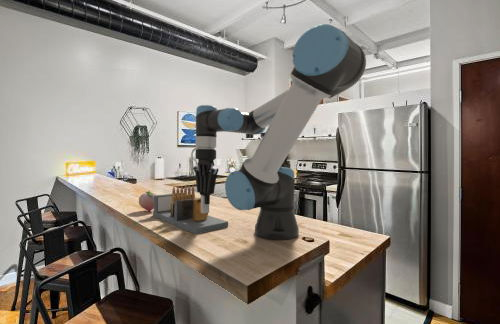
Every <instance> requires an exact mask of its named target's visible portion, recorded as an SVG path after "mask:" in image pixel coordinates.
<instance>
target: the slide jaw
mask: <svg viewBox="0 0 500 324" xmlns="http://www.w3.org/2000/svg"><path fill="white" fill-rule="evenodd" d="M207 215H208V216H209V213H201V197H195V198H194V199H185V200H177V201H174V219H175V220H180V219H186V218H192V217H193V220H194V221H200V220H205V219H207Z"/></svg>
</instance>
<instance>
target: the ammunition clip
mask: <svg viewBox="0 0 500 324" xmlns="http://www.w3.org/2000/svg"><path fill="white" fill-rule="evenodd" d="M183 187H184V189H183ZM175 193H176V195H175ZM179 193H180V195H179ZM183 193H184V195H183ZM171 194H172V203H171V216H172V217H174V201H177V200H185V199H194V198H196V194H195V185H193V184H192V187H191V185H188V188H187V186H186V185H185V186H182V185H180V188H179V186H177V187H176V188H175V186H173V187H172V191H171Z"/></svg>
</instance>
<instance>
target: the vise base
mask: <svg viewBox="0 0 500 324" xmlns="http://www.w3.org/2000/svg"><path fill="white" fill-rule="evenodd" d="M175 195H176V192H175ZM179 195H180V192H179ZM183 195H184V192H183ZM171 203H172V193H167V194H166V193H165V194H156V195H154V209H153V210H152V217H155V218H157V219H160V220H162V221H164V222H167V223H168V224H171V225H173V226H176V227H178V228H180V229H183V230H185V231H187V232H189V233H192V234H194V235H198V234H203V233H206V232H212V231H216V230H220V229H224V228H225V229H226V228H228V227H229V221H227V220H224V219H221V218H217V217H214V216H212V215H209V214H208V215H207V219H205V220H200V221H194V220H193V217H192V218H186V219H180V220H175V219H174V217H172V216H171Z"/></svg>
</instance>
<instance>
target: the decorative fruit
mask: <svg viewBox="0 0 500 324" xmlns="http://www.w3.org/2000/svg"><path fill="white" fill-rule="evenodd" d="M154 195H157V194H156V193H154V192H152V191H145V192H144V193H142V194H140V196H139V197H138V204H139V206H140V207H141V208H142V209H144V210H147V211H148V212H151V211H153V210H154Z"/></svg>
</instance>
